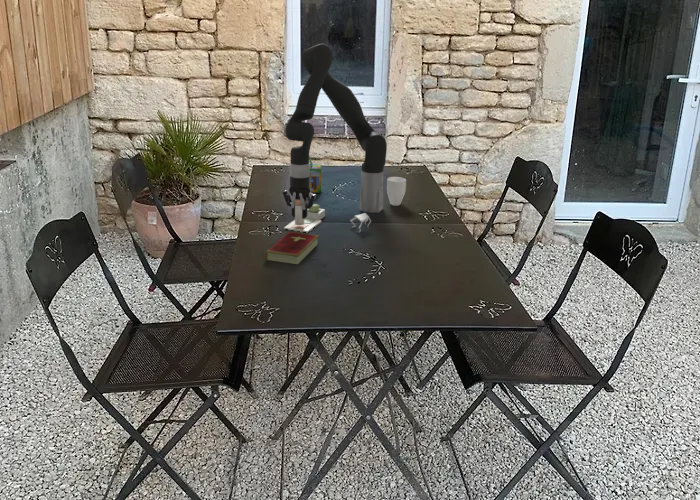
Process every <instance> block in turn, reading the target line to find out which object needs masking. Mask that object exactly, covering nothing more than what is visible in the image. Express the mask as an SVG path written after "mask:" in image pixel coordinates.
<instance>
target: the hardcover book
mask: <svg viewBox="0 0 700 500" xmlns="http://www.w3.org/2000/svg"><path fill="white" fill-rule="evenodd" d="M319 236H320V235H317V234H311V233H310V234H309V233H303V232H297V231H288V232H287V233H286V234H284V236H282V237H281V238H280V239H279V240H278V241H277V242H276V243H274V244H273V245H271V247H269V248H268V249H267V250H266V251H265V261H273V262H279V263H285V264H293V265H299V264H300V263H301V262H302V261H303V260H304V259H305V258H306V257H307V256H308V255H309V253H310V252H312V250H314V248H316V246H318V238H319Z"/></svg>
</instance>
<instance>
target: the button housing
mask: <svg viewBox="0 0 700 500" xmlns="http://www.w3.org/2000/svg"><path fill="white" fill-rule="evenodd" d="M308 211H309V209H308ZM325 216H326V209H324V208H319V212H318V213H312V212H308V215H307V217H306V218H309V219H316V220H321V221H322V220H323V218H326V217H325Z"/></svg>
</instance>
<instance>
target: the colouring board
mask: <svg viewBox="0 0 700 500" xmlns="http://www.w3.org/2000/svg"><path fill="white" fill-rule="evenodd" d="M321 223H322V219H321V220H316V219H309V218H305V219H304V225H295V219H294V220H292V221H291V222H289V223H288V224H286V226H284V228H283V229H284V230H285V229H288V230H287V231H291V230H294V231H293V232H297V231H300V232H299V233H303V232H306V233H305V234H309V233H310V232H311V231H313V230H314V229H315V228H316V227H317V226H318V225H320V224H321ZM314 227H315V228H314ZM313 228H314V229H313ZM309 231H310V232H309ZM308 232H309V233H308Z"/></svg>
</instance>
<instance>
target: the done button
mask: <svg viewBox="0 0 700 500" xmlns="http://www.w3.org/2000/svg"><path fill="white" fill-rule="evenodd" d="M319 209H320V204H317V203H313V206H312V207H311V208H310V209H309V211H308V212H312V213H318V212H319Z"/></svg>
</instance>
